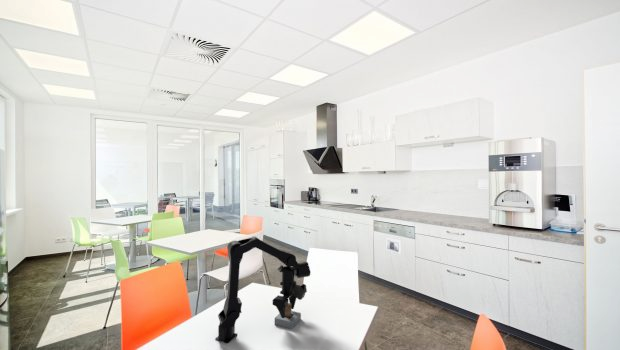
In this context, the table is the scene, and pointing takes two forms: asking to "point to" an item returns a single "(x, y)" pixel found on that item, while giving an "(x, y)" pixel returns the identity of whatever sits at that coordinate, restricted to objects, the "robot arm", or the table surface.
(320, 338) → the table surface
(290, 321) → the socket
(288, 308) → the peg
